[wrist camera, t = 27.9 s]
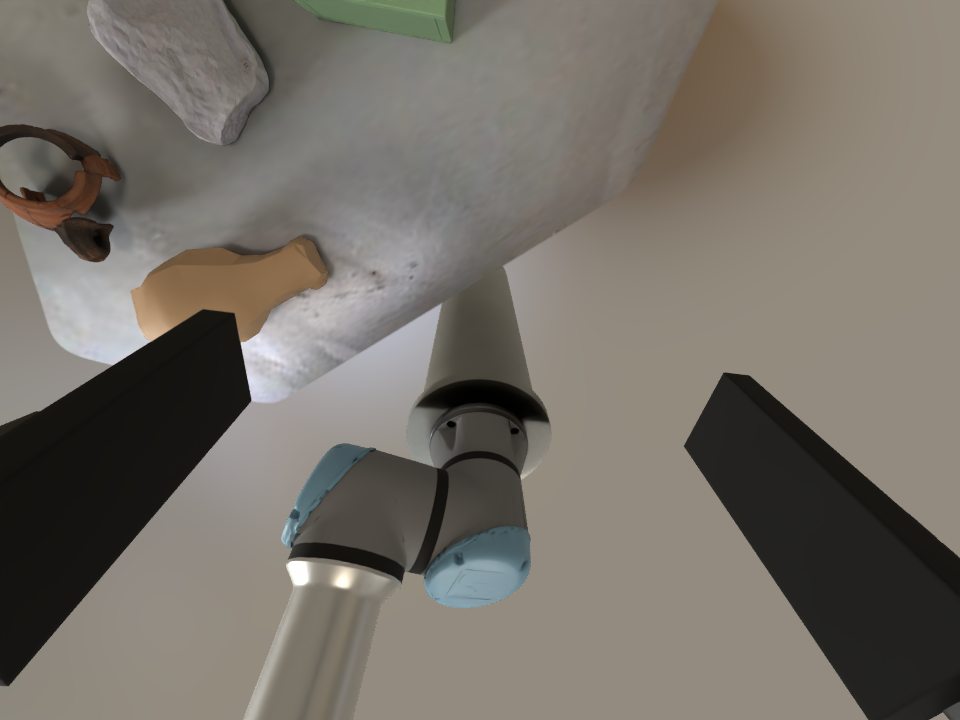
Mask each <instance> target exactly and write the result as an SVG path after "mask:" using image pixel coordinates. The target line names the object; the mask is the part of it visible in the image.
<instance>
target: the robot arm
mask: <svg viewBox="0 0 960 720" xmlns="http://www.w3.org/2000/svg"><path fill="white" fill-rule="evenodd" d="M250 402H251V395H250V390H249V385H248V380H247V374H246V369H245V364H244V359H243V354H242V348H241V343H240V338H239V333H238V328H237V322H236V317H235V313H231V312H223V311H215V310H207V309H202V310H201V311H199V312H197V313H196V314H194V315H193V316H191V317H189V318H188V319H186V320H185V321H183V322H181V323H180V324H178V325H177V326H175V327H174V328H172V329H170V330H169V331H167V332H166V333H164V334H162V335H161V336H159V337H158V338H156V339H154V340H153V341H151V342H150V343H148V344H146V345H145V346H143V347H142V348H140V349H139V350H137V351H135V352H134V353H132V354H131V355H129V356H127V357H126V358H124V359H123V360H121V361H119V362H118V363H116V364H115V365H113V366H112V367H110V368H108V369H107V370H105V371H104V372H102V373H100V374H99V375H97V376H96V377H94V378H92V379H91V380H89V381H88V382H86V383H84V384H83V385H81V386H80V387H78V388H76V389H75V390H73V391H72V392H70V393H68V394H67V395H65V396H64V397H62V398H61V399H59V400H57V401H56V402H54V403H53V404H51V405H50V406H48V407H46V408H45V409H43V410H42V411H40V412H37V411H36V412H33V413H31V414H29V415H26V416H24V417H21V418H19V419H16V420H14V421H11V422H9V423H6V424H4V425H1V426H0V686H9V685H10V684H11V683H12V682H13V680H14V679H15V678H16V677H17V676H18V675H19V673H20V672H21V671H22V670H23V668H24V667H25V666H26V665H27V664H28V663H29V662H30V660H31V659H32V658H33V657H34V656H35V654H36V653H37V652H38V651H39V650H40V649H41V648H42V646H43V645H44V644H45V643H46V642H47V640H48V639H49V638H50V637H51V636H52V635H53V633H54V632H55V631H56V630H57V629H58V628H59V626H60V625H61V624H62V623H63V622H64V621H65V619H66V618H67V617H68V616H69V615H70V613H71V612H72V611H73V610H74V609H75V608H76V606H77V605H78V604H79V603H80V602H81V601H82V599H83V598H84V597H85V596H86V595H87V594H88V592H89V591H90V590H91V589H92V588H93V586H94V585H95V584H96V583H97V582H98V580H99V579H100V578H101V577H102V576H103V575H104V573H105V572H106V571H107V570H108V569H109V568H110V566H111V565H112V564H113V563H114V562H115V561H116V559H117V558H118V557H119V556H120V555H121V554H122V552H123V551H124V550H125V549H126V548H127V546H128V545H129V544H130V543H131V542H132V541H133V539H134V538H135V537H136V536H137V535H138V534H139V532H140V531H141V530H142V529H143V528H144V527H145V525H146V524H147V523H148V522H149V521H150V520H151V518H152V517H153V516H154V515H155V514H156V512H157V511H158V510H159V509H160V508H161V507H162V505H163V504H164V503H165V502H166V501H167V500H168V498H169V497H170V496H171V495H172V493H174V491H175V490H176V489H177V488H178V486H179V485H180V484H181V483H182V482H183V480H185V478H186V477H187V476H188V475H189V474H190V473H191V471H192V470H193V469H194V468H195V467H196V465H197V464H198V463H199V462H200V461H201V460H202V458H203V457H204V456H205V455H206V453H208V451H209V450H210V449H211V448H212V447H213V445H214V444H215V443H216V442H217V441H218V440H219V438H220V437H221V436H222V435H223V434H224V433H225V431H226V430H227V429H228V428H229V427H230V426H231V424H232V423H233V422H234V421H235V420H236V419H237V417H238V416H239V415H240V414H241V413H242V411H243V410H244V409H245V408H246V407H247V406H248V404H249V403H250ZM684 447H685V448H686V450H687V451H688V453H689V454H690V456H691V457H692V459H693V460H694V462H695V463H696V465H697V466H698V468H699V469H700V471H701V472H702V474H703V475H704V477H705V478H706V480H707V481H708V483H709V484H710V486H711V487H712V489H713V490H714V492H715V493H716V495H717V496H718V497H719V499H720V500H721V502H722V503H723V505H724V506H725V508H726V509H727V511H728V512H729V514H730V515H731V517H732V518H733V520H734V521H735V523H736V524H737V525H738V527H739V528H740V530H741V531H742V533H743V535H744V536H745V537H746V539H747V540H748V542H749V543H750V545H751V546H752V548H753V549H754V551H755V552H756V554H757V555H758V557H759V558H760V560H761V561H762V563H763V564H764V566H765V567H766V569H767V570H768V572H769V573H770V574H771V576H772V577H773V579H774V580H775V582H776V583H777V585H778V586H779V588H780V589H781V591H782V592H783V594H784V595H785V597H786V598H787V600H788V601H789V603H790V604H791V606H792V607H793V609H794V610H795V612H796V613H797V615H798V616H799V617H800V619H801V620H802V622H803V623H804V625H805V626H806V628H807V629H808V631H809V632H810V634H811V635H812V637H813V638H814V640H815V641H816V643H817V644H818V646H819V647H820V649H821V650H822V651H823V653H824V655H825V656H826V658H827V659H828V660H829V662H830V663H831V665H832V666H833V668H834V669H835V671H836V672H837V674H838V675H839V677H840V678H841V680H842V681H843V683H844V684H845V686H846V687H847V689H848V690H849V692H850V693H851V695H852V696H853V698H854V699H855V700H856V702H857V703H858V705H859V706H860V708H861V709H862V711H863V712H864V714H865V715H866V717H867V718H868V720H929V719H931V718H933V717H935V716H937V715H939V714H940V713H942V712H943V713H944V714H945V715H946V716H947V718H948V719H949V720H960V558H959V557H958V556H957V555H956V554H955V553H954V552H953V551H951V550H950V549H949V548H948V547H947V546H946V545H944V544H943V543H941V542H940V541H939V540H938V539H937V538H936V537H935V536H934V535H933V534H932V533H931V532H929V531H928V530H927V529H926V528H925V527H924V526H923V525H921V524H920V523H919V522H918V521H917V520H916V519H915V518H913V517H912V516H911V515H910V514H908V513H907V512H906V511H905V510H903V509H902V508H901V507H900V506H899V505H898V504H896V503H895V502H894V501H893V500H892V499H891V498H890V497H888V496H887V495H886V494H885V493H884V492H883V491H882V490H880V489H879V488H878V487H877V486H876V485H875V484H873V483H872V482H871V481H870V480H869V479H868V478H867V477H865V476H864V475H863V474H862V473H861V472H859V470H857V469H856V468H855V467H854V466H853V465H851V464H850V463H849V462H848V461H847V460H846V459H845V458H844V457H842V456H841V455H840V454H839V453H838V452H837V451H836V450H834V449H833V448H832V447H831V446H830V445H829V444H827V443H826V442H825V441H824V440H823V439H822V438H820V437H819V436H818V435H817V434H816V433H815V432H814V431H813V430H811V429H810V428H809V427H808V426H807V425H806V424H804V423H803V422H802V421H801V420H800V419H799V418H798V417H796V416H795V415H794V414H793V413H792V412H790V410H788V409H787V408H786V407H785V406H784V405H783V404H781V403H780V402H779V401H778V400H777V399H776V398H774V397H773V396H772V395H771V394H770V393H769V392H767V391H766V390H765V389H764V388H763V387H762V386H760V384H758V383H757V382H756V381H755V380H754V379H753V378H752V377H750V376H749V375H740V374H732V373H723V375H722V377H721V379H720V380H719V382H718V384H717V386H716V388H715V390H714V391H713V393H712V395H711V397H710V399H709V401H708V403H707V404H706V406H705V408H704V410H703V412H702V414H701V415H700V417H699V419H698V421H697V423H696V425H695V427H694V428H693V430H692V432H691V434H690V436H689V438H688V439H687V441H686V443H685V445H684ZM429 449H430V455H431V458H432V461H433V465H434V467H433V466H429V465H426V464H422V463H419V462H416V461H412V460H409V459H405V458H402V457H398V456H395V455H392V454H388V453H385V452H381V451H377V450H376V449H375V448H364V447H360V446H355V445H351V444H338V445H336V446H334V447H333V448H331V449H330V450H329V451H328V452H327V453H326V454H325V455H324V456H323V457H322V459H321V460H320V461H319V463H318V464H317V466H316V467H315V469H314V470H313V472H312V473H311V475H310V477H309V479H308V480H307V482H306V484H305V486H304V487H303V489H302V491H301V493H300V494H299V496H298V498H297V501H296V502H295V505H294V509H293V510H292V512H291V514H290V516H289V518H288V519H287V521H286V524H285V526H284V529H283V532H282V537H281V539H282V542H283V544H285V545H286V546H287V548H293V549H292V551H291V553H290V556H289V558H288V561H287V564H286V568H287V570H288V572H289V575H290V577H291V580H292V582H293V592H292V594H291V597H290V599H289V602H288V605H287V607H286V610H285V612H284V615H283V618H282V620H281V623H280V625H279V628H278V630H277V633H276V636H275V639H274V641H273V644H272V646H271V649H270V651H269V654H268V657H267V659H266V662H265V664H264V667H263V670H262V672H261V675H260V677H259V680H258V682H257V685H256V688H255V690H254V693H253V695H252V698H251V700H250V703H249V706H248V708H247V711H246V713H245V716H244V719H243V720H353V717H354V713H355V709H356V705H357V701H358V696H359V692H360V688H361V684H362V680H363V676H364V672H365V668H366V664H367V660H368V656H369V652H370V648H371V644H372V639H373V636H374V631H375V627H376V624H377V619H378V616H379V612H380V608H381V605H382V604H383V603H384V602H385V601H386V600H387V599H388V598H389V597H390V596H392V595H393V594H394V593H396V592H397V591H398V590H399V589H400V588H401V584H402V580H403V575H404V572H405V571H406V572H411V573H415V574H419V575H423V576H424V584H425V587H426V591H427V593H428V595H429V596H430V597H431V598H434V599H435V601H436V602H438V603H440V604H442V605H445V606H449V607H457V608H472V607H479V606H484V605H488V604H492V603H494V602H497V601H500V600H502V599H504V598H506V597H508V596H510V595H511V594H513V593H514V592H515V591H516V590H518V589H519V588H520V587H521V586H522V584H523V583H524V582H525V580H526V579H527V576H528V574H529V571H530V563H531V562H530V535H529V533H528V527H527V520H526V513H525V506H524V499H523V492H522V485H521V477H520V476H521V473H522V469H523V466H524V462H525V459H526V455H527V450H528V439H527V433H526V429H525V426H524V424H523V422H522V421H521V420H520V418H519V417H518V416H517V415H516V414H515V413H514V412H512V411H511V410H509V409H508V408H506V407H504V406H501V405H499V404H496V403H492V402H485V401H473V402H466V403H462V404H459V405H456V406H454V407H452V408H450V409H448V410H447V411H445V412H444V413H443V414H442V415H440V417H439V418H438V419H437V420H436V421H435V423H434V425H433V427H432V430H431V434H430V441H429Z"/></svg>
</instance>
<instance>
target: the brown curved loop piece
mask: <svg viewBox="0 0 960 720" xmlns="http://www.w3.org/2000/svg"><path fill="white" fill-rule="evenodd" d="M20 137H36V138H40V139H43V140H47V141H49V142H51V143H53V144H55V145H57V146H58V147H59V148H61V149H62V150H63V151H64V152H65V153H66V154H67V155H68V156H69V158H70V159H72V160H79V161H81V163H82V166H83V167H84V171H76V172H75V179H74V183H73V186H72V188H71V189H70V190H69V191H68V192H67V193H66V194H65V195H63V196H61V197H60V198H58V199H56V200H54V201H46V198H45V196H44V194H43V193H41V192H36V191H30V190H29V189H27V188H24V187H21V188H20V192H21V194H22V196H23V198H21V197H19V196H17V195H15V194H14V193H12V192H11V191H9V190H8V189H7V188H6V187H5V186H4V185H3V183H2V182H1V180H0V200H1V202H2V203H3V204H4V205H5V206H7V208H9V209H10V210H11V211H12V212H14V213H15V214H17V215H18V216H20V217H21V218H23V219H25V220H27V221H29V222H31V223H32V224H34V225H37V226H39V227H42V228H45V229H48V230H51V231H55V232H56V233H57V234H58V235H59V236H60V238H61V239H62V241H63V242H64V244H65V245H67V246H68V247H69V248H70V249H71V250H72V251H73V252H74V253H76V254H77V255H78V256H79V257H80V258H81V259H83V260H86V261H90V262H101V261H104V260H105V258H106V257H107V256H108V255H109V253H110V241H109V235H110V233H111V231H112V229H113V225H111V224H99V223H96V222H95V221H93V220H89V219H86V218H80V217H74V218H70V216H71V214H72V213H73V212H78V213H80V214H83V215H85V214H86V213H87V211H88V210H89V209H90V207H91V205H92V204H93V203H94V202H95V200H96V197H97V194H98V193H99V190H100V188H101V183H102V176H104V177H109V178H111V179H113V180H115V181H119V180H121V177H120V174H119V172H118V170H117V168H116V167H115V165H113V164H112V163H110V162H109V160H107V159H104V158H102V157H101V155H100V153H99V152H98V151H96V150H95V149H93V148H92V147H90V146H88V145H87V144H85V143H83V142H81V141H80V140H77V139H76V138H74V137H72V136H69V135H67V134H65V133H62V132H59V131H56V130H52V129H47V130H45V129H42V128H38V127H33V126H28V125H23V124H22V125H6V126H3V127H0V147H1V146H3V145H4V144H5V143H7V142H9V141H11V140H13V139H16V138H20Z"/></svg>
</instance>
